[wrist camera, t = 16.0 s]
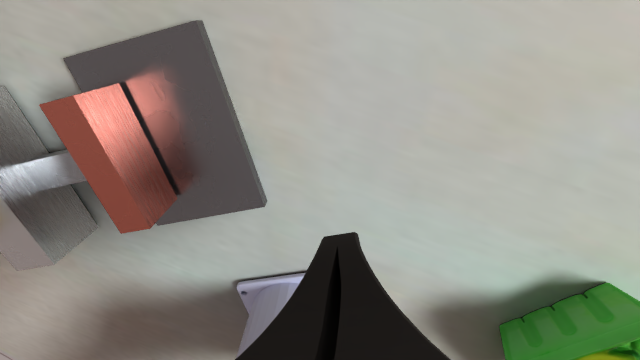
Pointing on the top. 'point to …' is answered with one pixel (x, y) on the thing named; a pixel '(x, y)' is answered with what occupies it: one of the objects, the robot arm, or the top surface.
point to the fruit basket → (578, 329)
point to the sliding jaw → (74, 175)
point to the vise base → (181, 117)
